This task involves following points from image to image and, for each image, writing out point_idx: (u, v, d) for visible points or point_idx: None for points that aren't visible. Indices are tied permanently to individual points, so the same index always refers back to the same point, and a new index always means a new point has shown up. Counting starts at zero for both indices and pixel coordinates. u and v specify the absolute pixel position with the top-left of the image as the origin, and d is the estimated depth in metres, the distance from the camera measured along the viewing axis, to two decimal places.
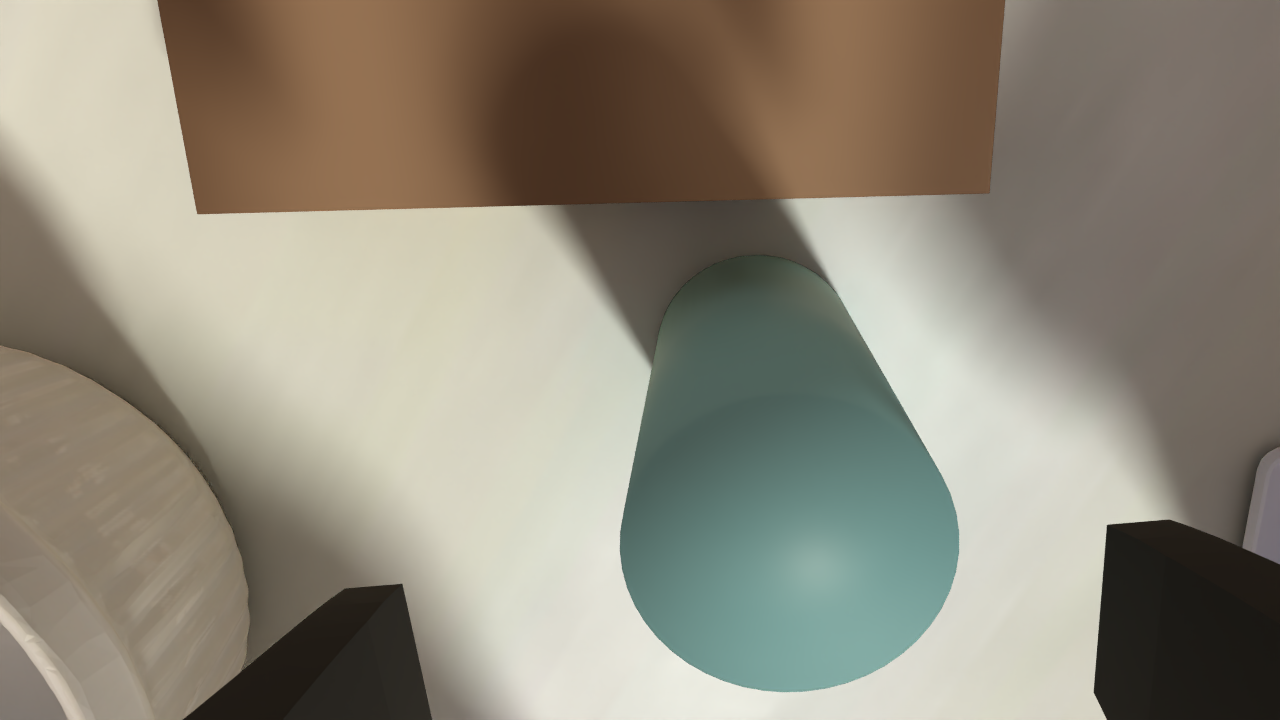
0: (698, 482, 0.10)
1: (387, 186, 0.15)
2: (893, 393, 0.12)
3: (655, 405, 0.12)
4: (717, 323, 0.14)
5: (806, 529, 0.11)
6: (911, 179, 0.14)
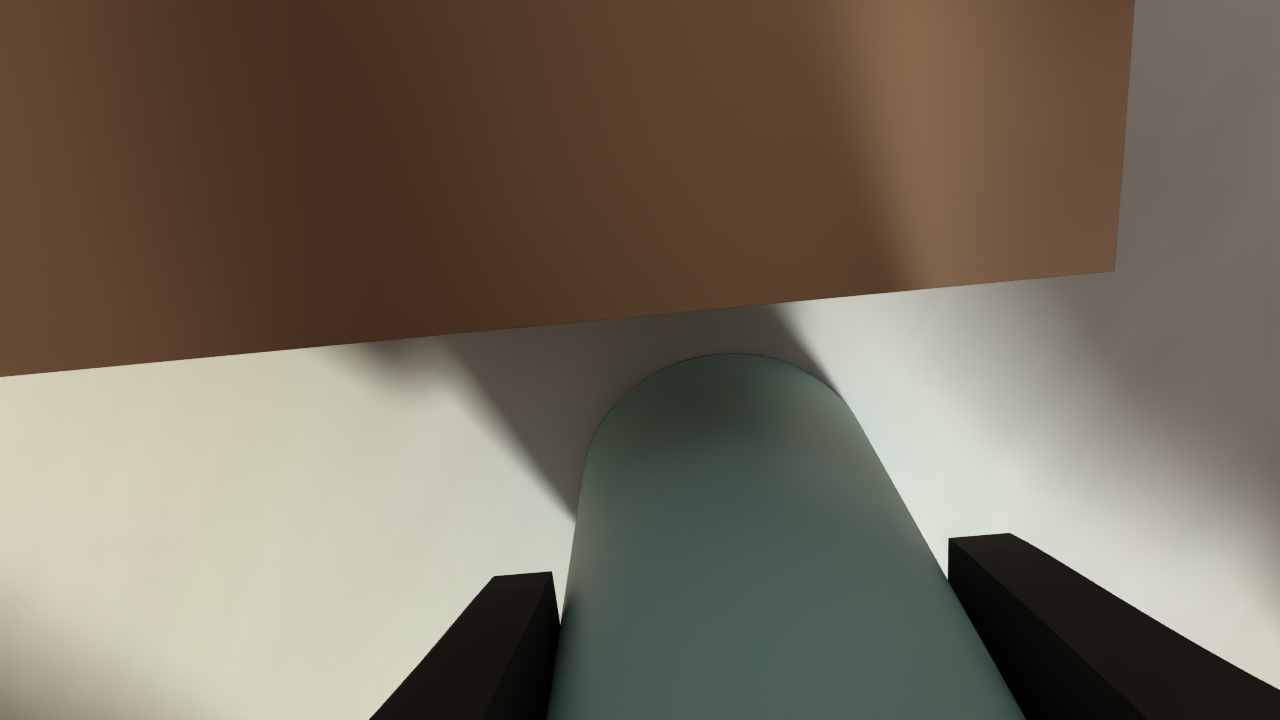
0: None
1: (74, 332, 0.08)
2: (1011, 703, 0.06)
3: None
4: (665, 551, 0.08)
5: None
6: (980, 257, 0.08)
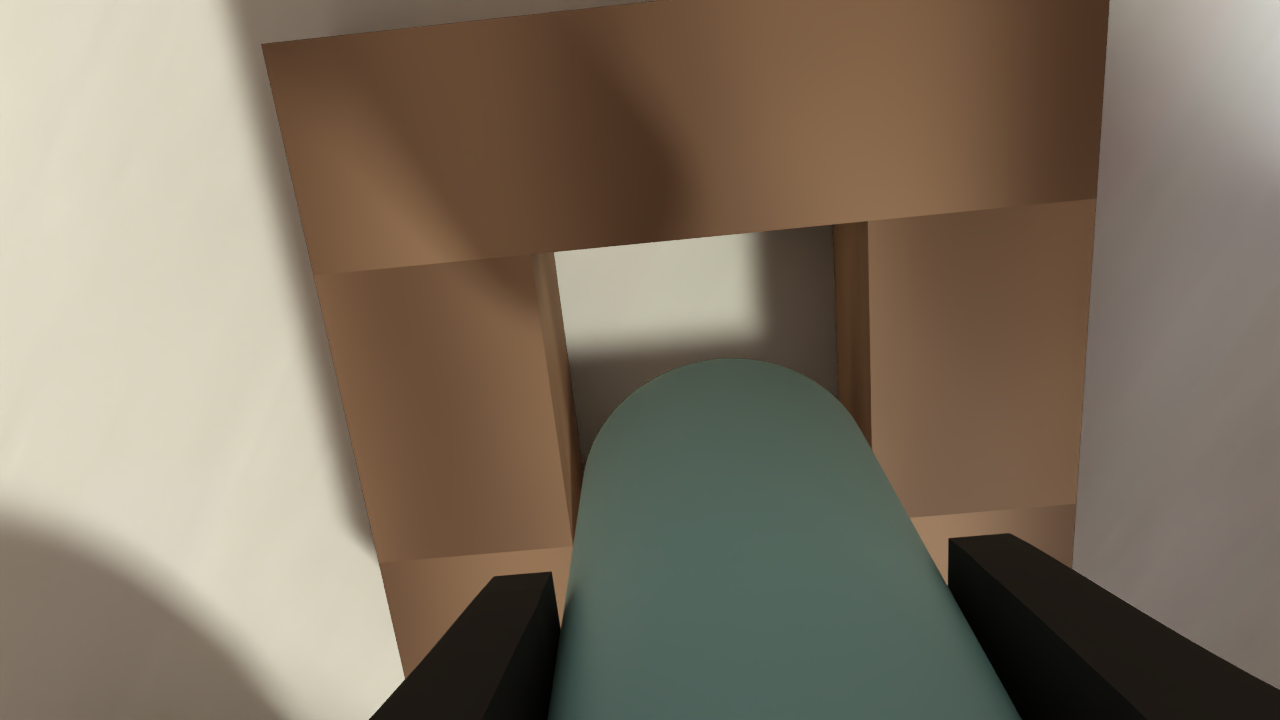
0: None
1: None
2: (1008, 708, 0.06)
3: None
4: (662, 560, 0.08)
5: None
6: None
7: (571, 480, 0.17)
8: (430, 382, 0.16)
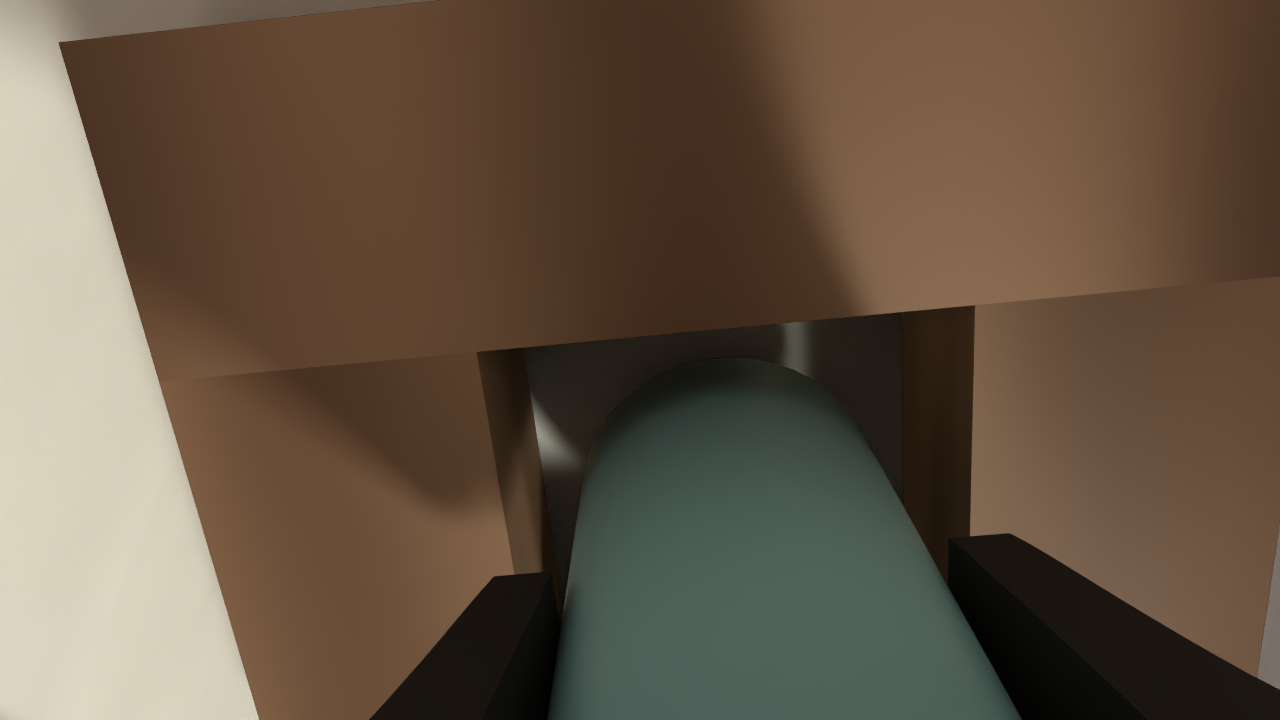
0: None
1: None
2: (1008, 708, 0.06)
3: None
4: (661, 559, 0.08)
5: None
6: None
7: None
8: (336, 528, 0.11)
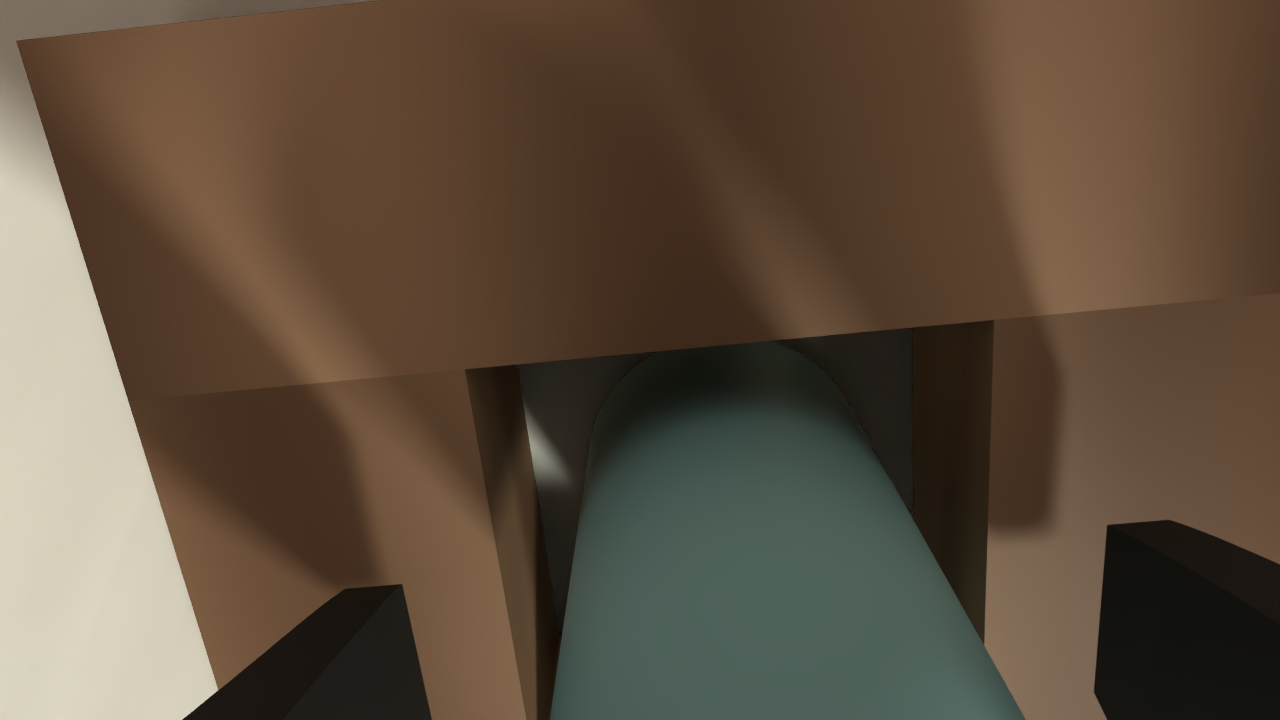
0: None
1: None
2: (964, 620, 0.07)
3: (569, 685, 0.07)
4: (663, 501, 0.08)
5: None
6: None
7: (537, 672, 0.12)
8: (317, 554, 0.10)
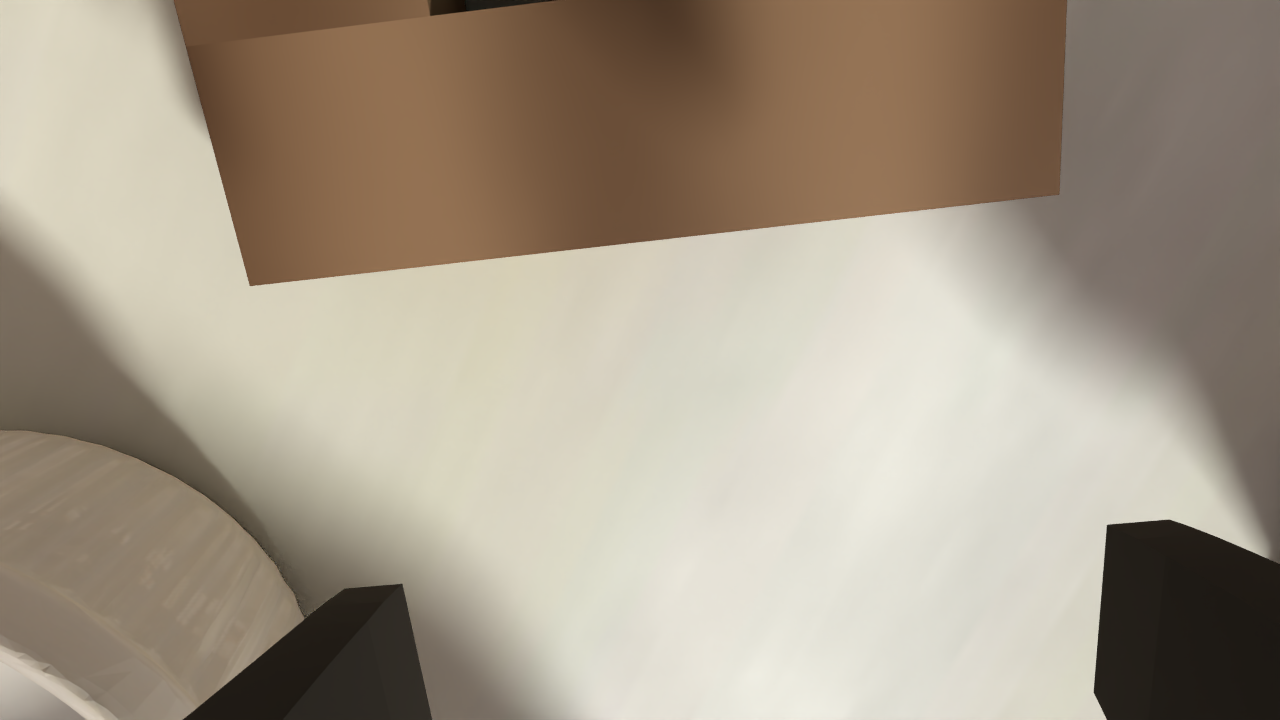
0: None
1: (448, 241, 0.14)
2: None
3: None
4: None
5: None
6: (981, 187, 0.14)
7: None
8: None
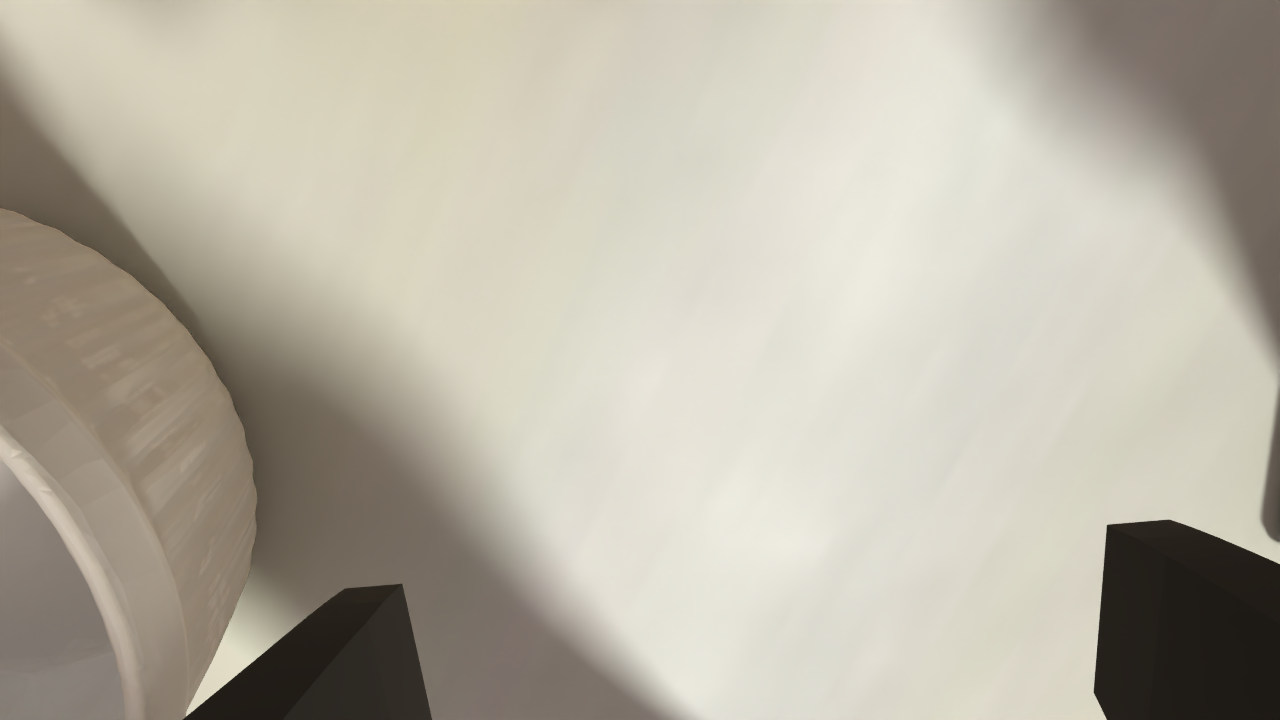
0: None
1: None
2: None
3: None
4: None
5: None
6: None
7: None
8: None
